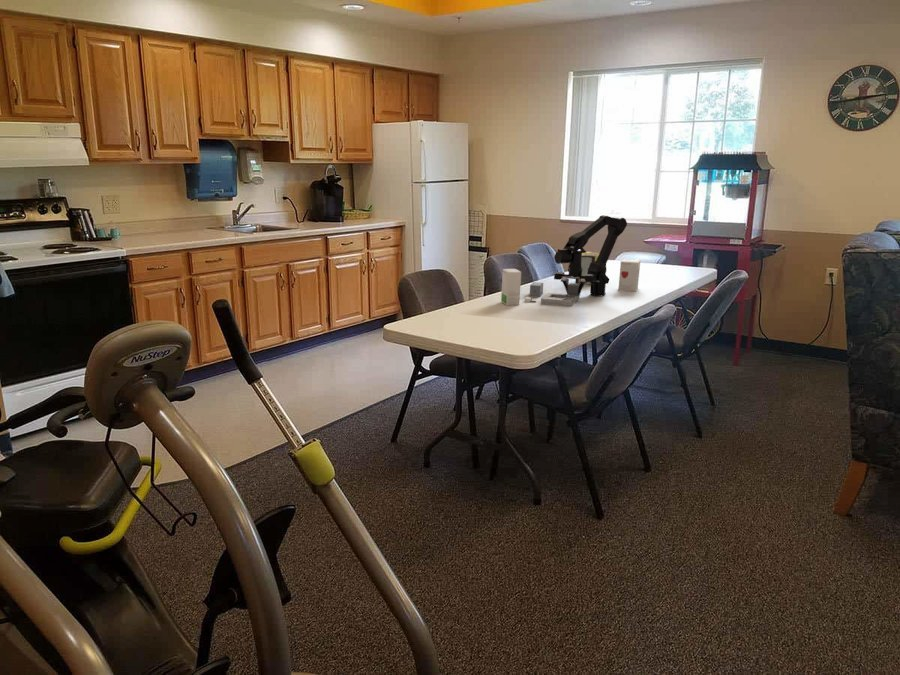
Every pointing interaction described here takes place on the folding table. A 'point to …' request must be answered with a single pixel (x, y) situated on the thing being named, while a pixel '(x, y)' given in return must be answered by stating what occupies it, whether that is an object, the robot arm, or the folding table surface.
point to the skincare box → (511, 287)
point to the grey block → (573, 289)
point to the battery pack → (536, 289)
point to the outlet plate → (559, 299)
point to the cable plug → (528, 299)
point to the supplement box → (629, 275)
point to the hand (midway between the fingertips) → (573, 294)
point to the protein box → (587, 264)
